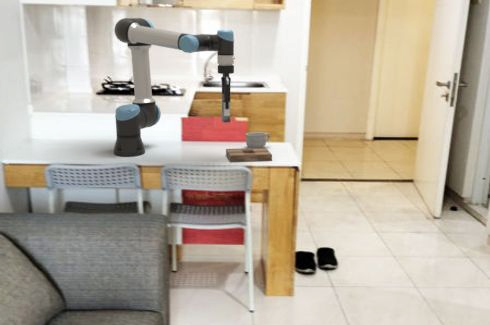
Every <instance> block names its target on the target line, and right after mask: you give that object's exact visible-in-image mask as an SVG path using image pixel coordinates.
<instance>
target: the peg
mask: <svg viewBox="0 0 490 325" xmlns="http://www.w3.org/2000/svg"><path fill="white" fill-rule="evenodd" d="M223 101H224V94H222V93H221V123H226V124H227V123H231V115H230V116H224V102H223Z"/></svg>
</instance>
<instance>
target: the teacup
mask: <svg viewBox="0 0 490 325" xmlns="http://www.w3.org/2000/svg"><path fill="white" fill-rule="evenodd" d="M270 138H271V134H270V133H269V132H262V131H261V132H260V131H257V132H256V131H253V132H251V131H250V132H247V133H245V145H246V146H247V147H248V148H265V146H266V145H267V144H266V143H267V142H268V141H270Z"/></svg>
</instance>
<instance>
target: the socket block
mask: <svg viewBox="0 0 490 325" xmlns="http://www.w3.org/2000/svg"><path fill="white" fill-rule="evenodd" d="M226 155H227V156H226ZM225 156H226V157H227V159H228V160H229V162H230V163H241V162H242V163H243V162H244V163H245V162H246V163H247V162H269V161H270V162H272V161H273V154H272V153H271V152H270V150H269V149H267V148H266V147H263V148H249V147H248V148H245V147H244V148H225Z"/></svg>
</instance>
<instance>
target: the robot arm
mask: <svg viewBox="0 0 490 325" xmlns="http://www.w3.org/2000/svg"><path fill="white" fill-rule="evenodd" d="M216 32H217V33H216V34H207V33H206V34H204V33H202V34H201V33H199V34H191V33H190V34H189V33H183V32H178V31H172V30H167V29H166V30H165V29H162V28H161V29H160V28H157V27H156V28H155V27H154V24H153V23H152V22H151V21H150V20H149V19H146V18H140V17H135V18H134V17H133V18H132V17H131V18H130V17H129V18H128V17H126V18H121V19H119V20H118V21H117V22H116V24H115V25H114V34H115V37H116V39H117V40H118V41H120V42H122V43H124V44H127V47H128V49H129V50H130V52H131V54H130V55H131V64H132V77H133V89H134V99H133V100H132V102H131V103H130V104H129V103H127V104H122V105H120V106H118V107H117V108H116V109H115V116H114V118H115V131H116V140H115V143H114V146H113V154H114V155H115V156H119V157H135V156H137V157H138V156H140V155H144V154H145V153H146V149H145V148H146V147H145V145H144V142H143V139H142V137H141V136H142V135H141V134H142V133H141V130H142V129H146V128H152V127H153V126H155V125H157V124H158V122H160V119H161V115H162V114H161V112H162V111H161V109H160V107H159V105H158V104H156V99H154V98H153V93H152V78H151V77H152V76H151V66H150V64H151V63H150V51H149V50H150V48H152V46H157V47H163V48H169V49H174V50H177V51H182V52H184V53H187V54H191V53H197V52H198V53H199V52H217V55H216V56H217V57H216V58H217V64H218V65H217V74H221V75H222V76H221V77H220V79H221V80H220V81H221V95H222V94H224V101H223V102H224V116H230V117H231V82H232V79H231V77H230V74H234V73H235V65H234V64H235V60H236V57H235V56H234V54H235V53H234V52H235V50H234V48H235V47H234V46H235V38H234V30H232V29H229V30H227V29H218V30H217V31H216Z"/></svg>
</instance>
